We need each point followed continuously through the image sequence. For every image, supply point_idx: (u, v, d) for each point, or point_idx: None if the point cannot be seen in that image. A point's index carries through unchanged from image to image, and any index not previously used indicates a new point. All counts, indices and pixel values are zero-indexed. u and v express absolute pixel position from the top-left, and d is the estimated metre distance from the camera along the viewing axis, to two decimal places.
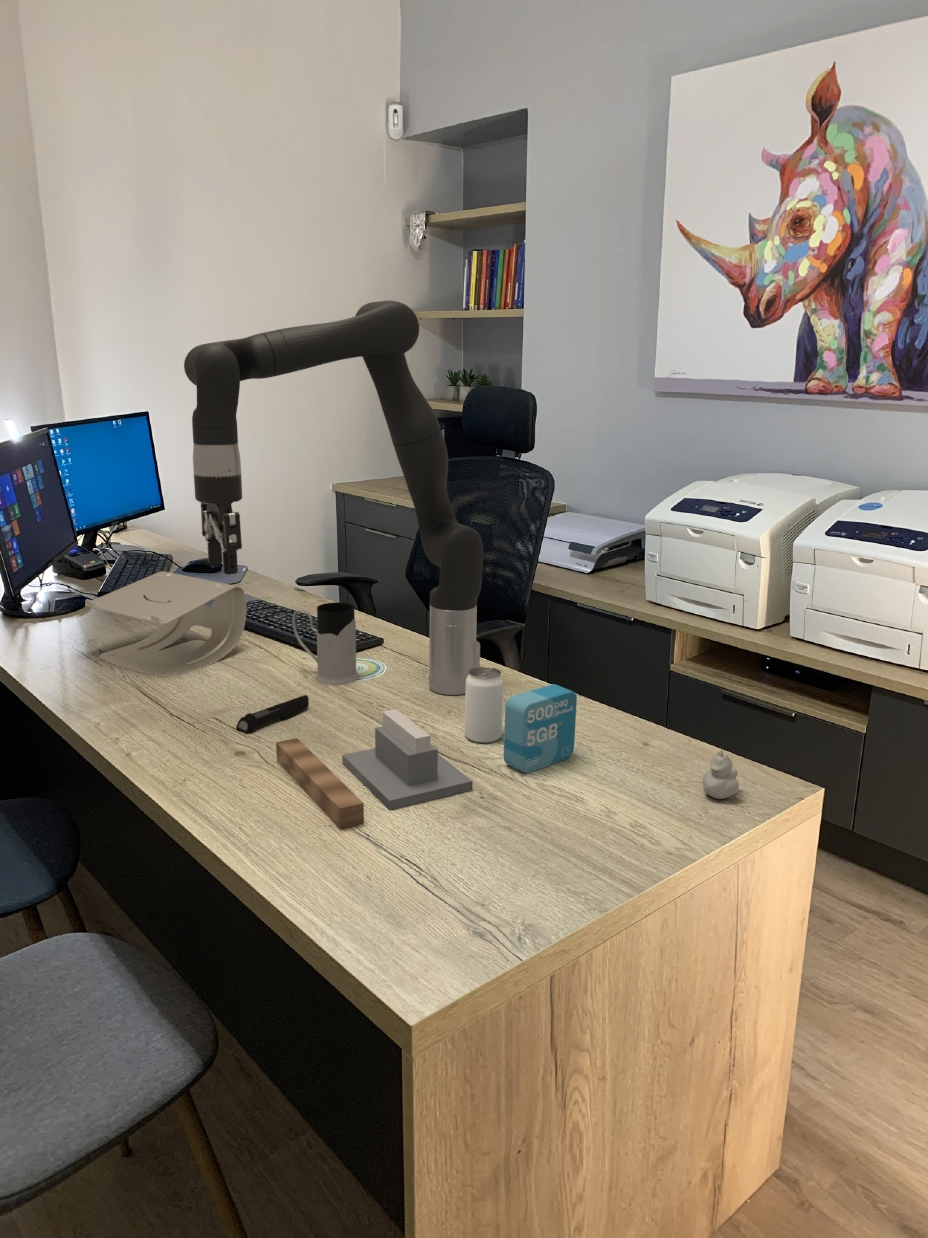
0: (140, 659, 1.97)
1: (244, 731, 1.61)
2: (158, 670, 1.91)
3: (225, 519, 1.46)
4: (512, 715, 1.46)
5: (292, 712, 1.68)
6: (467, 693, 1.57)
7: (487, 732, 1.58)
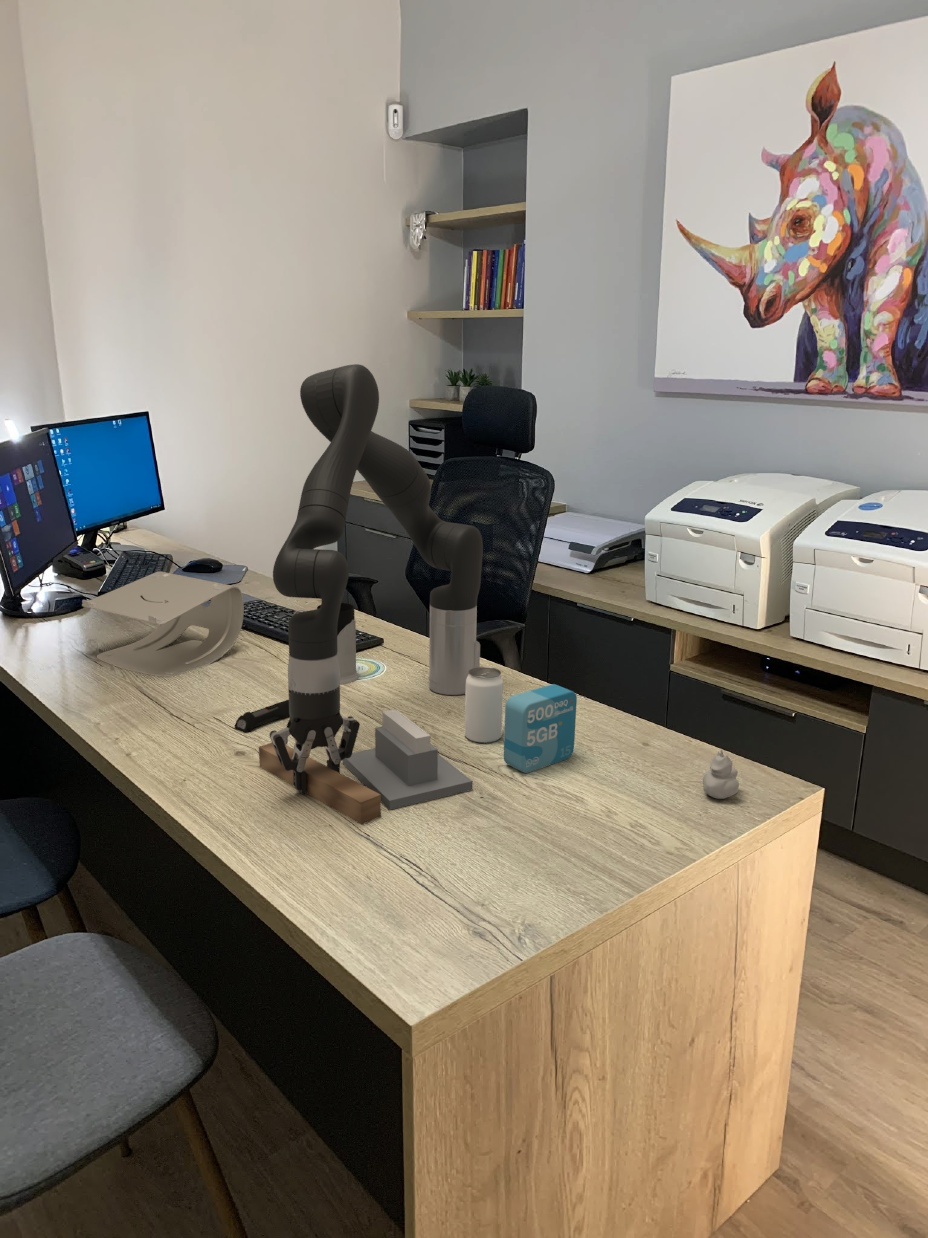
0: (138, 659, 1.97)
1: (242, 730, 1.61)
2: (155, 670, 1.90)
3: (358, 727, 1.40)
4: (512, 715, 1.46)
5: None
6: (467, 693, 1.57)
7: (487, 732, 1.58)
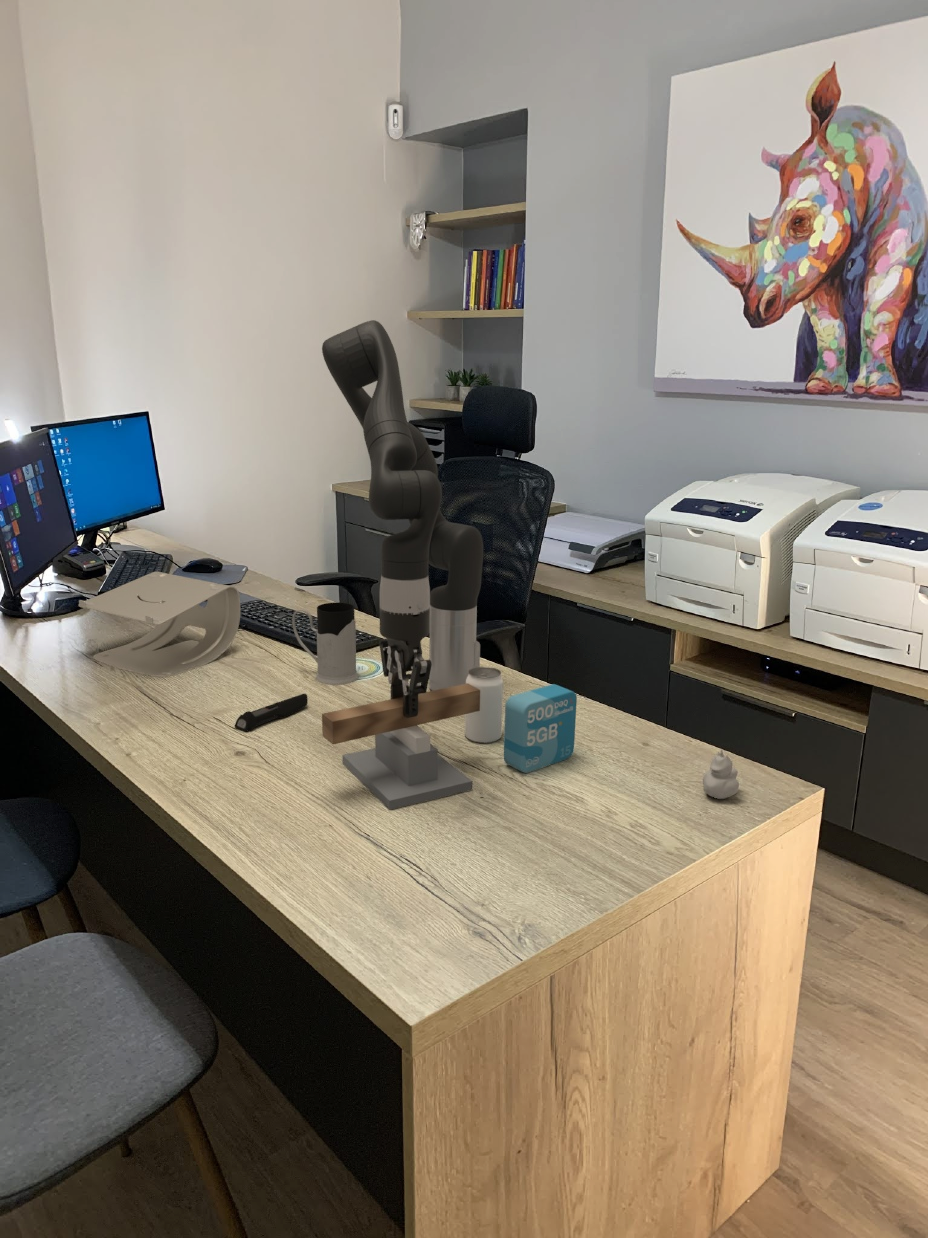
0: (134, 659, 1.97)
1: (242, 729, 1.61)
2: (152, 670, 1.90)
3: None
4: (512, 715, 1.46)
5: (291, 710, 1.69)
6: None
7: (487, 732, 1.58)
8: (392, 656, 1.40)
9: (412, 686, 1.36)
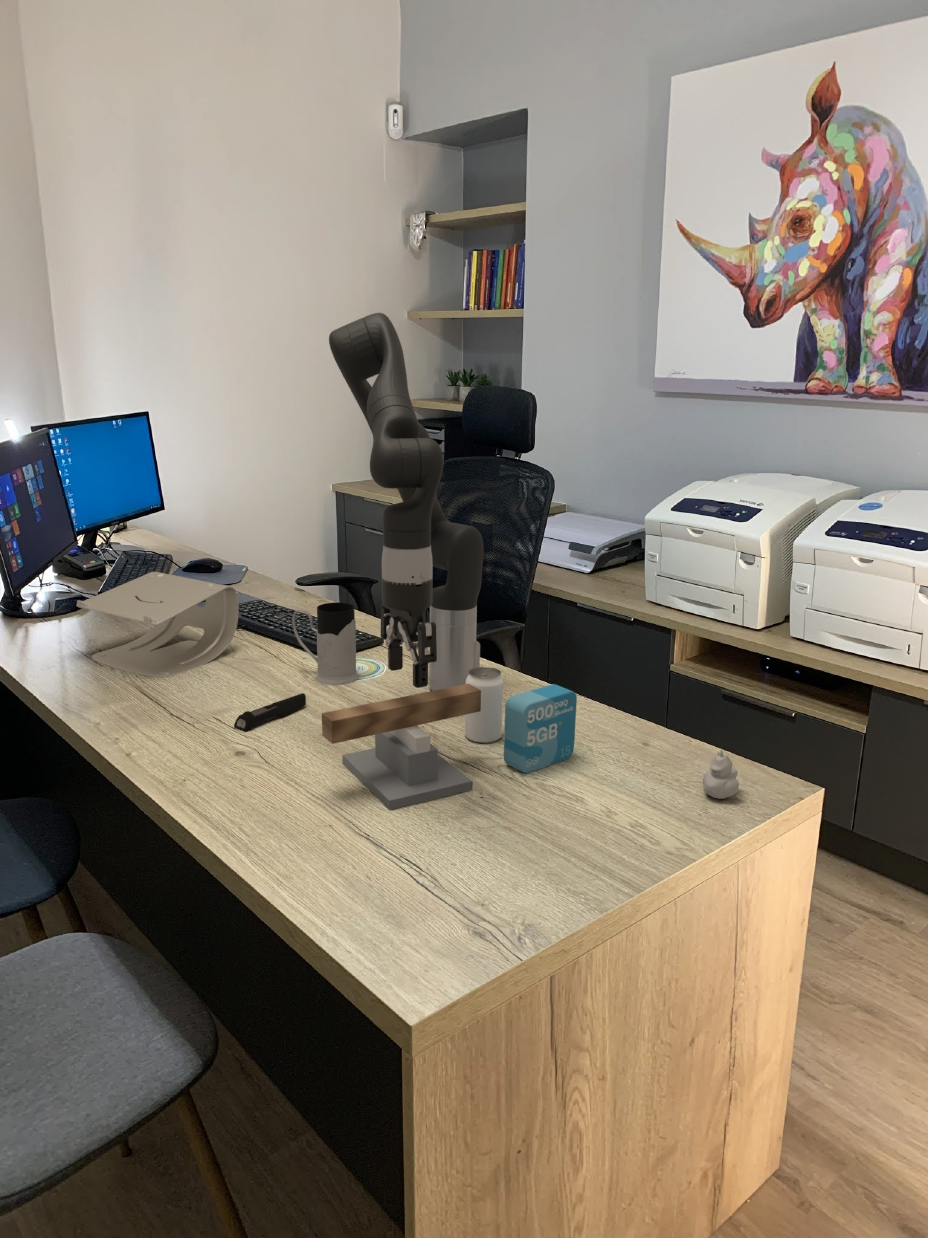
0: (132, 659, 1.97)
1: (242, 729, 1.62)
2: (150, 671, 1.90)
3: None
4: (512, 715, 1.46)
5: (290, 710, 1.69)
6: None
7: (487, 732, 1.58)
8: (394, 627, 1.39)
9: (421, 652, 1.33)
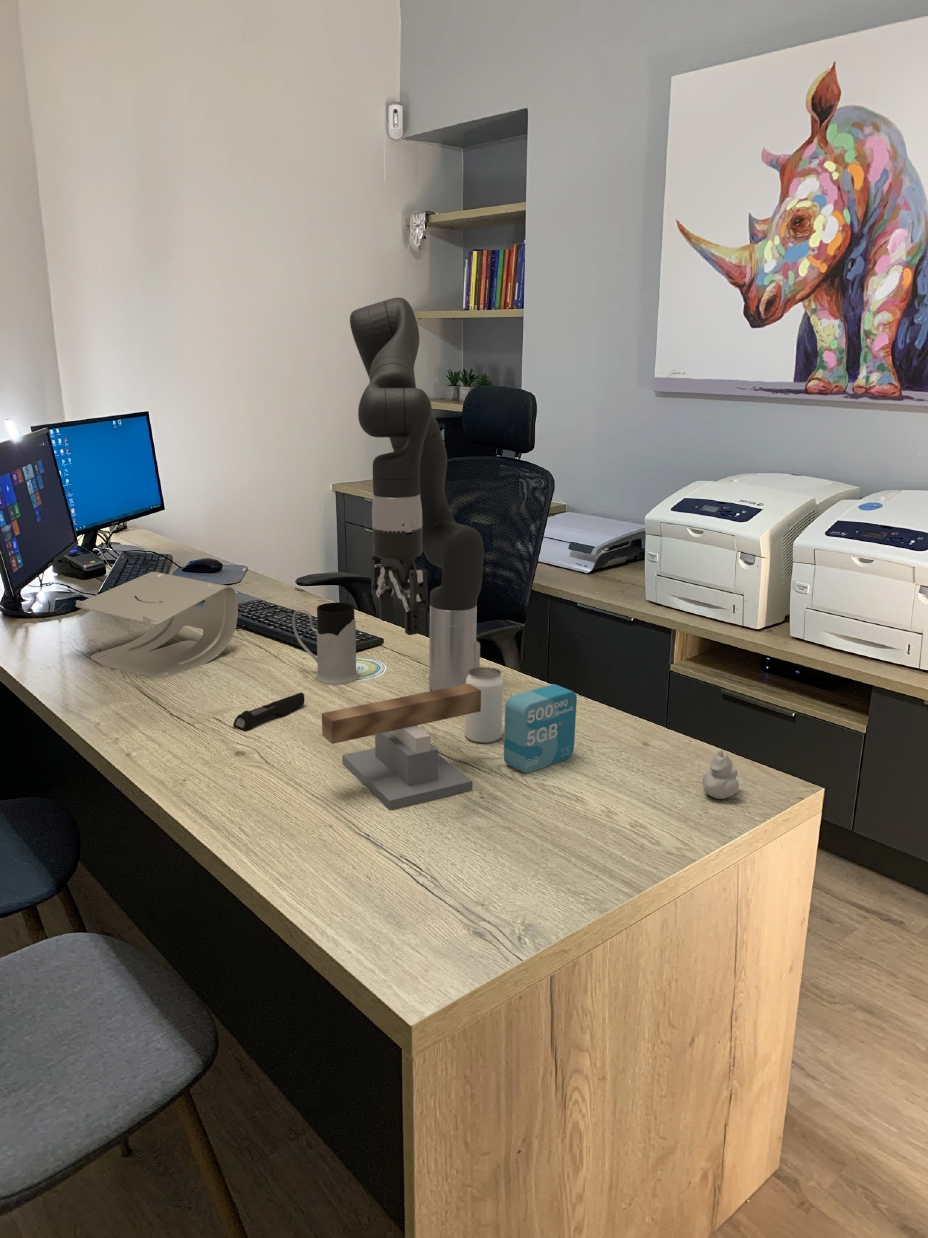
0: (132, 659, 1.97)
1: (241, 728, 1.62)
2: (150, 671, 1.90)
3: None
4: (512, 715, 1.46)
5: (289, 709, 1.69)
6: None
7: (487, 732, 1.58)
8: (385, 577, 1.41)
9: (413, 599, 1.35)
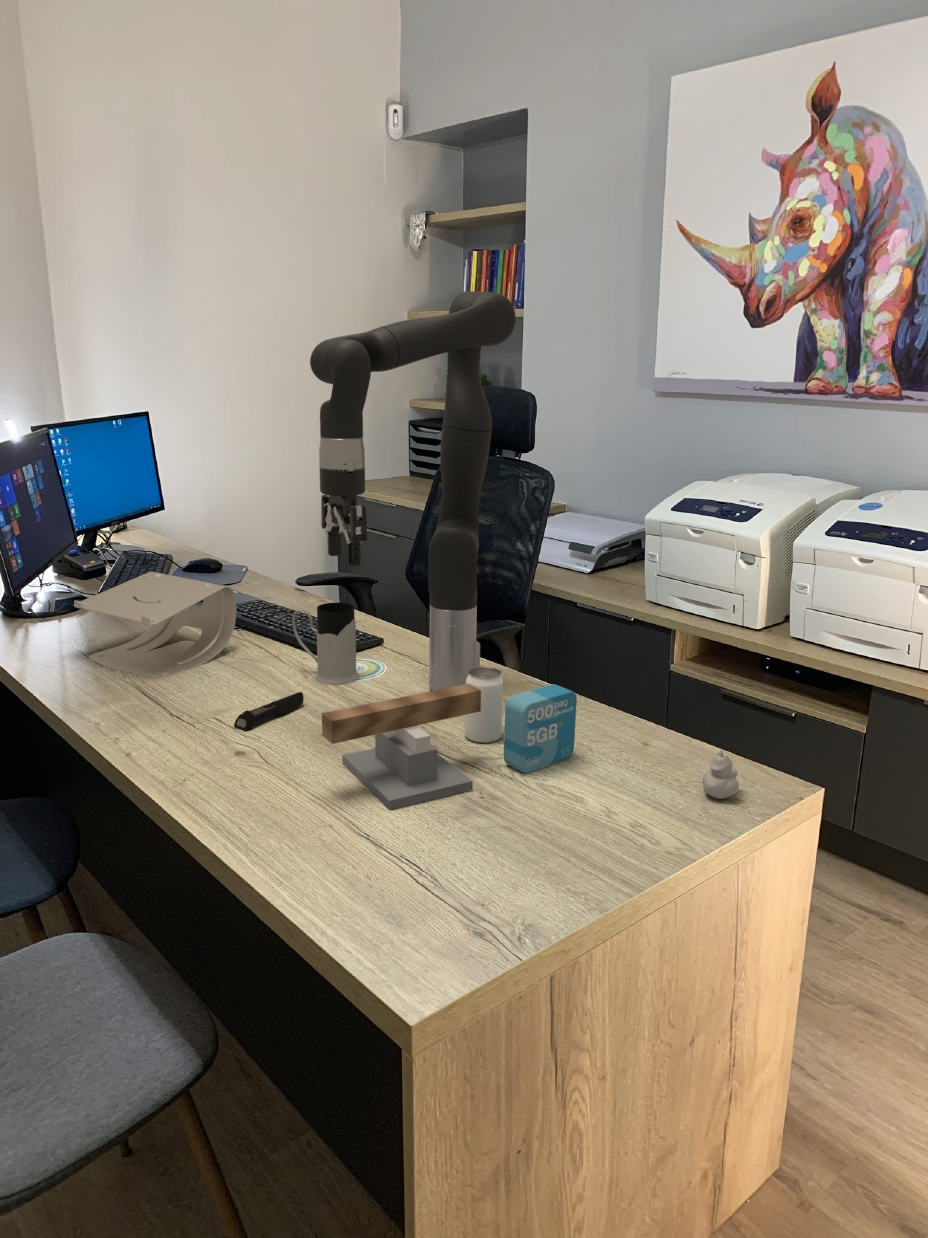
0: (130, 659, 1.97)
1: (242, 728, 1.62)
2: (148, 671, 1.90)
3: None
4: (512, 715, 1.46)
5: (288, 709, 1.69)
6: None
7: (487, 732, 1.58)
8: (331, 513, 1.55)
9: (352, 531, 1.49)
